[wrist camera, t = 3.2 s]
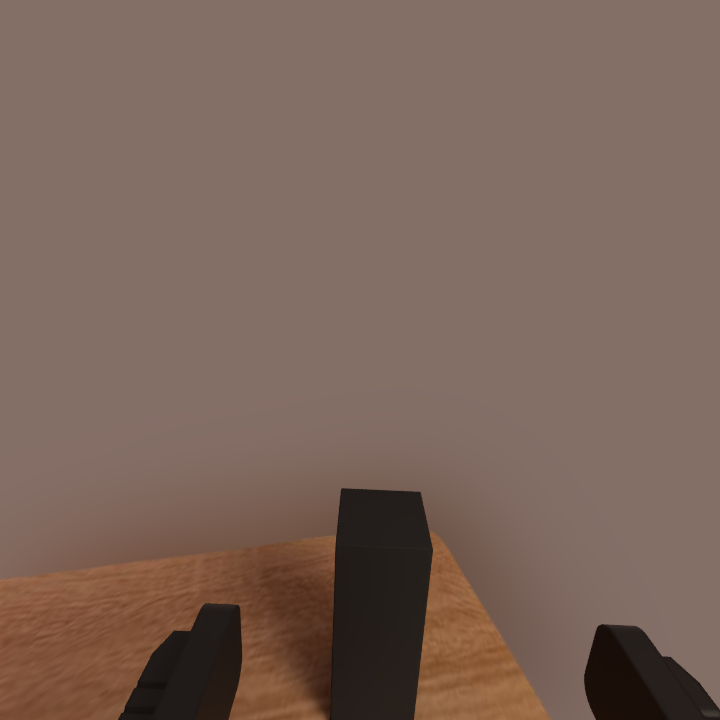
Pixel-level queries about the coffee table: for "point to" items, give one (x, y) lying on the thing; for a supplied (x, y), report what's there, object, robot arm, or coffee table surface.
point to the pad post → (379, 604)
